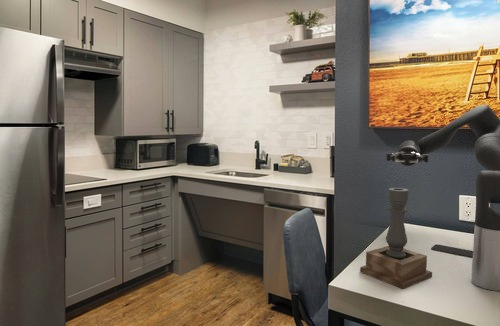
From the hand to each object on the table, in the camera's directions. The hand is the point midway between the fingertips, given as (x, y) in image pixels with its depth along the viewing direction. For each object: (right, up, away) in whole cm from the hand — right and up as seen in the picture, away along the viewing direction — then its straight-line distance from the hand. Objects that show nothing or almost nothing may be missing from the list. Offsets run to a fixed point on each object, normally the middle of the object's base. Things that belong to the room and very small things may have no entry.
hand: (406, 159), depth 133 cm
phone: (+19, -34, +3) cm, 40 cm away
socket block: (-10, -36, -17) cm, 41 cm away
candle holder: (-10, -35, -17) cm, 40 cm away
